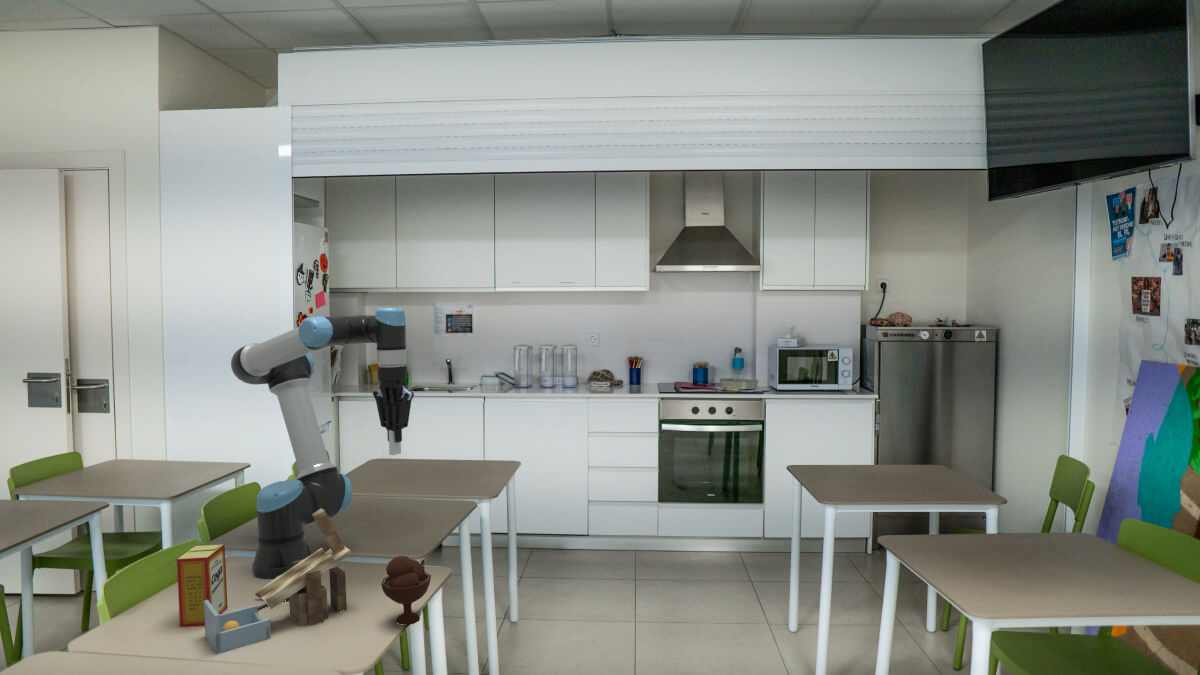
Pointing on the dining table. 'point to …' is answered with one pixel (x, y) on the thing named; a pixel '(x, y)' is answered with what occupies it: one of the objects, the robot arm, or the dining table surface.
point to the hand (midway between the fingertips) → (395, 454)
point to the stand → (318, 597)
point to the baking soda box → (201, 583)
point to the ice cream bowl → (405, 585)
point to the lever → (306, 565)
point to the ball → (230, 625)
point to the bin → (246, 634)
